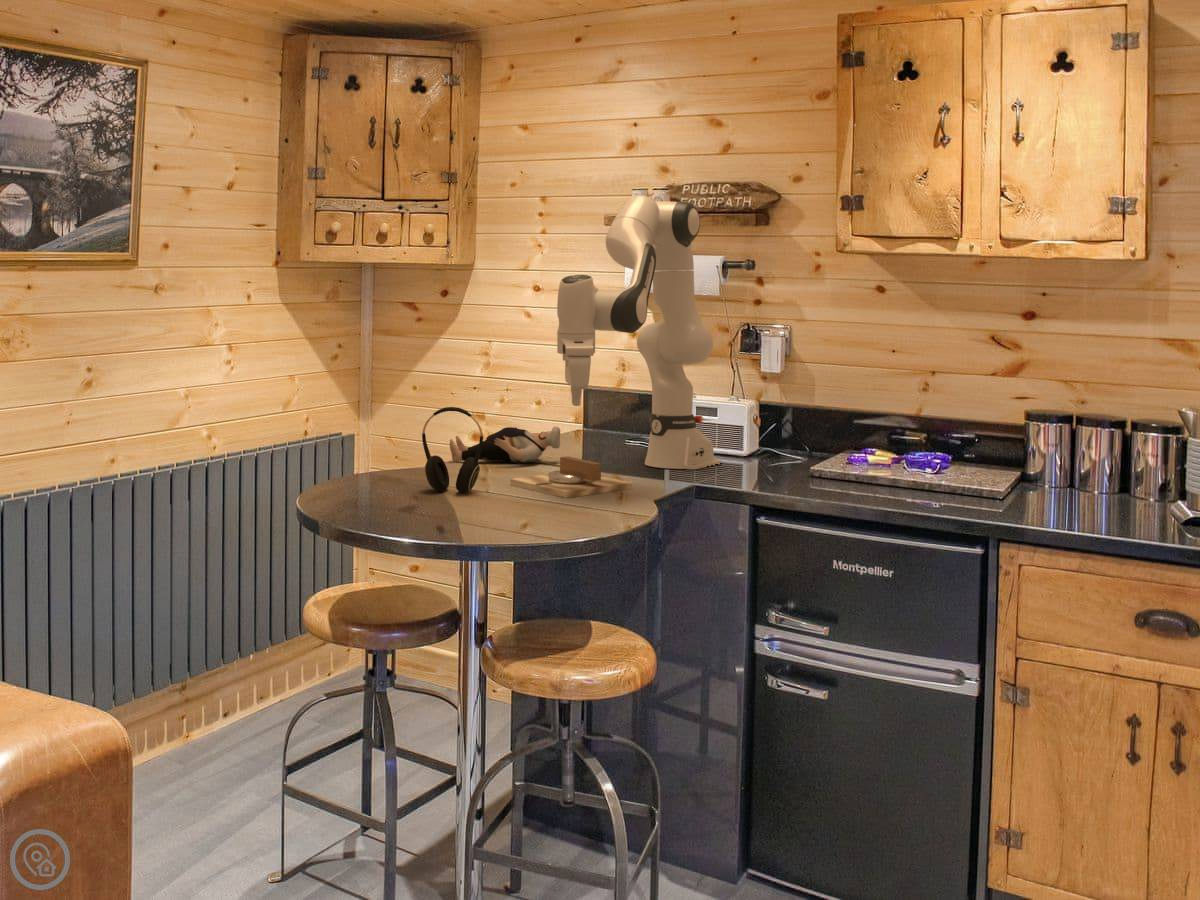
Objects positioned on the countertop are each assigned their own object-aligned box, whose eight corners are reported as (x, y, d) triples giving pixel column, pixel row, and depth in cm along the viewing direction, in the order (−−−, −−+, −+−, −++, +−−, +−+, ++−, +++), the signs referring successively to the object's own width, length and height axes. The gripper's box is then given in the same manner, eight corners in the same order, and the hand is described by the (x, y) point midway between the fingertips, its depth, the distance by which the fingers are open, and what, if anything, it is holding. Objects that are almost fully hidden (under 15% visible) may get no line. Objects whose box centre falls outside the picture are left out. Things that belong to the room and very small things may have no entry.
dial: (539, 478, 273) (539, 457, 272) (575, 474, 280) (575, 453, 279) (578, 487, 261) (578, 465, 260) (614, 483, 268) (615, 461, 267)
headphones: (428, 487, 268) (428, 403, 265) (488, 490, 266) (488, 406, 263) (416, 493, 260) (415, 407, 257) (477, 496, 257) (478, 410, 254)
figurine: (460, 431, 321) (562, 414, 318) (467, 467, 323) (569, 450, 319) (441, 442, 299) (551, 423, 295) (449, 480, 300) (558, 462, 296)
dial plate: (576, 476, 287) (576, 470, 287) (632, 488, 271) (632, 481, 271) (510, 484, 273) (510, 477, 273) (565, 498, 258) (565, 490, 257)
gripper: (559, 343, 270) (559, 400, 272) (566, 348, 250) (566, 410, 252) (585, 343, 270) (585, 400, 273) (594, 348, 250) (594, 410, 252)
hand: (576, 405), depth 262 cm, fingers closed
